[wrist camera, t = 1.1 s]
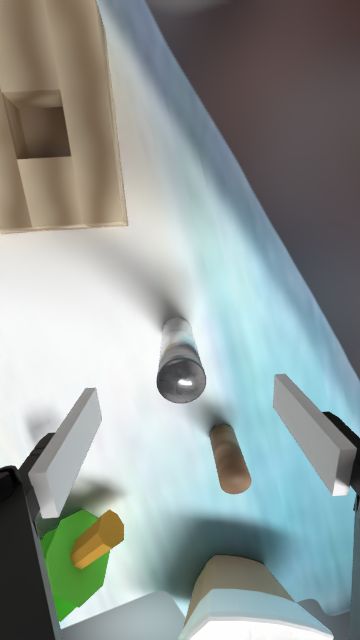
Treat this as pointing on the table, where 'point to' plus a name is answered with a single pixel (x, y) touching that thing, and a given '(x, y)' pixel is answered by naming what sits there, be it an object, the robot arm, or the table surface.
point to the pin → (179, 364)
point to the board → (57, 119)
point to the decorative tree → (79, 557)
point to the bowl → (245, 605)
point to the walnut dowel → (229, 460)
